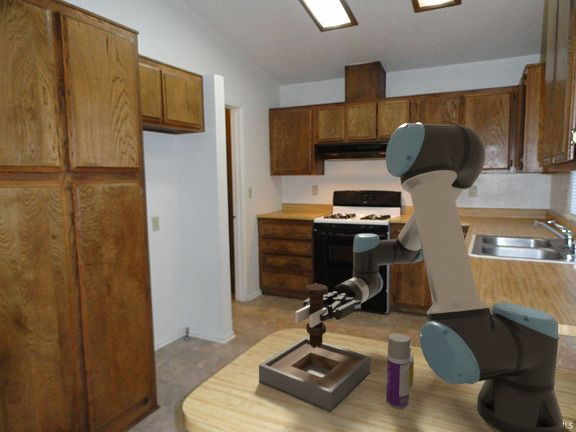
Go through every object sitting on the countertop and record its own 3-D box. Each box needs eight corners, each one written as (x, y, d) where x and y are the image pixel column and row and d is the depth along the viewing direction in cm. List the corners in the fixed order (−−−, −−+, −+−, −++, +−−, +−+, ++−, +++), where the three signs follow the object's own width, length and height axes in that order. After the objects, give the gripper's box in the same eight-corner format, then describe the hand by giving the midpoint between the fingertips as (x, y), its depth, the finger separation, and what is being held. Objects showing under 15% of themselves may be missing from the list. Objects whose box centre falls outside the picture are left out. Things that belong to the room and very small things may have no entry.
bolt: (301, 348, 92) (301, 288, 91) (307, 340, 97) (307, 282, 95) (325, 352, 90) (325, 291, 89) (329, 343, 95) (330, 285, 94)
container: (381, 399, 85) (383, 335, 84) (397, 394, 87) (399, 331, 86) (396, 411, 81) (398, 343, 79) (412, 405, 83) (415, 339, 82)
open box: (370, 373, 96) (370, 356, 96) (330, 412, 81) (330, 392, 80) (305, 352, 108) (305, 336, 108) (259, 382, 92) (258, 364, 92)
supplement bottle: (414, 391, 89) (415, 351, 88) (390, 388, 90) (391, 349, 89) (411, 379, 94) (412, 341, 93) (389, 376, 95) (390, 339, 94)
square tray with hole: (364, 371, 96) (364, 360, 96) (328, 405, 82) (328, 392, 82) (306, 352, 107) (306, 342, 106) (266, 379, 93) (265, 367, 92)
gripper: (377, 313, 103) (334, 344, 84) (325, 301, 112) (276, 326, 94) (377, 286, 102) (334, 311, 83) (325, 276, 112) (276, 297, 93)
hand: (303, 319), depth 88 cm, fingers closed on bolt, 3 cm apart
